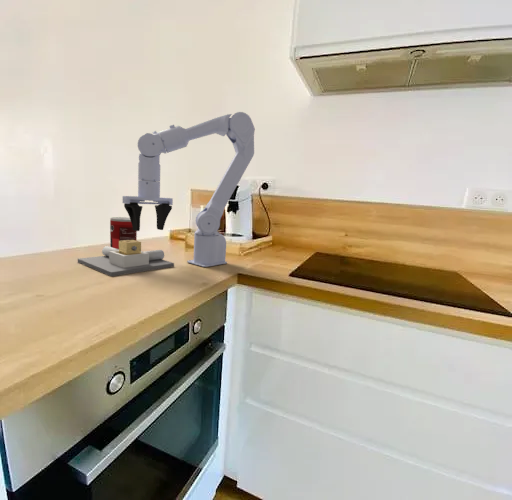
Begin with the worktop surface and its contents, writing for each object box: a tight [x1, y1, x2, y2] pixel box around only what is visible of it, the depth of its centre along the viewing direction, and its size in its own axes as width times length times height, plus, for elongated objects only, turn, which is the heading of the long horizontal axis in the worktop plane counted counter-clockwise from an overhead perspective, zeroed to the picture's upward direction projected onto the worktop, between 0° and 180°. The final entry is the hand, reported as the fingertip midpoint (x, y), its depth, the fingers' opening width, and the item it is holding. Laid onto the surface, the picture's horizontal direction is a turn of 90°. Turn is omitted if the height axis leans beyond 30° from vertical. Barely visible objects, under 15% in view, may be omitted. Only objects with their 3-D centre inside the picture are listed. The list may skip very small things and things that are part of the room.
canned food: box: [109, 216, 138, 249], centre depth 102 cm, size 8×8×11 cm
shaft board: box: [77, 245, 175, 277], centre depth 87 cm, size 18×18×4 cm
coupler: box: [119, 240, 142, 255], centre depth 84 cm, size 4×5×6 cm
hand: (148, 230), depth 90 cm, fingers open, 7 cm apart
